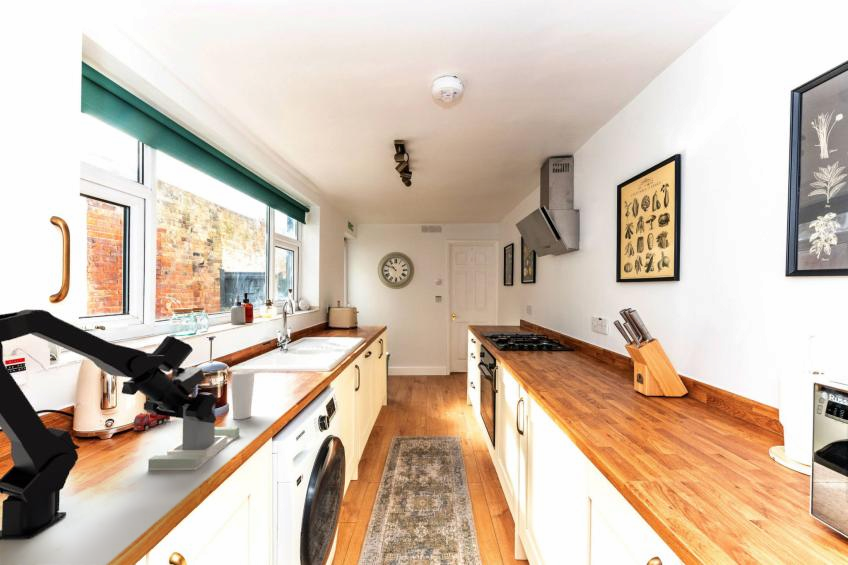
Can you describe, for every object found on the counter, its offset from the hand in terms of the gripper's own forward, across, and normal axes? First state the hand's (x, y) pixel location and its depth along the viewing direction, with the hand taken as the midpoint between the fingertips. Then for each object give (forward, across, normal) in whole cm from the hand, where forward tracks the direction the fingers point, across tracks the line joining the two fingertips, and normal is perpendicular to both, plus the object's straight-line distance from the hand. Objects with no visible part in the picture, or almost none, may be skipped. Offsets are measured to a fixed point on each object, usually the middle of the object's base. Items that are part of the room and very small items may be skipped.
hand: (201, 419), depth 94 cm
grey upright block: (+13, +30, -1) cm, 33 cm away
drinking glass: (+22, +10, -10) cm, 26 cm away
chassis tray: (+5, 0, +6) cm, 8 cm away
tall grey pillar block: (+5, 0, +6) cm, 7 cm away
